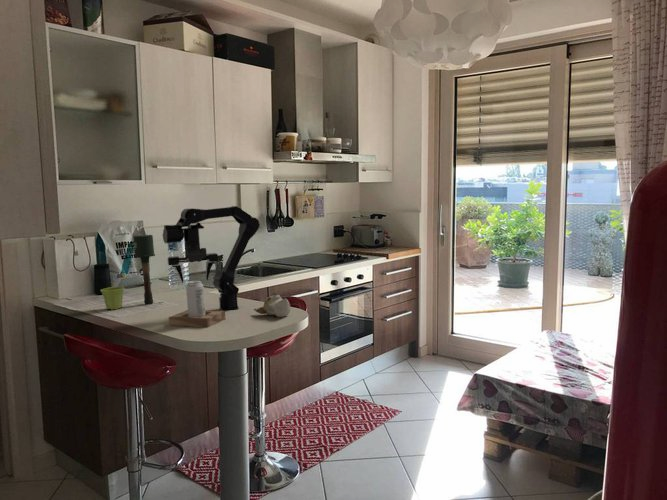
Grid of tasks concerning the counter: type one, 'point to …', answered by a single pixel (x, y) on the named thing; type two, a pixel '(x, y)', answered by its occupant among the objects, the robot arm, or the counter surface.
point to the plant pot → (113, 297)
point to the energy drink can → (195, 299)
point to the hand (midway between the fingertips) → (194, 281)
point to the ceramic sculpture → (275, 306)
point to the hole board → (197, 319)
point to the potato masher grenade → (145, 261)
